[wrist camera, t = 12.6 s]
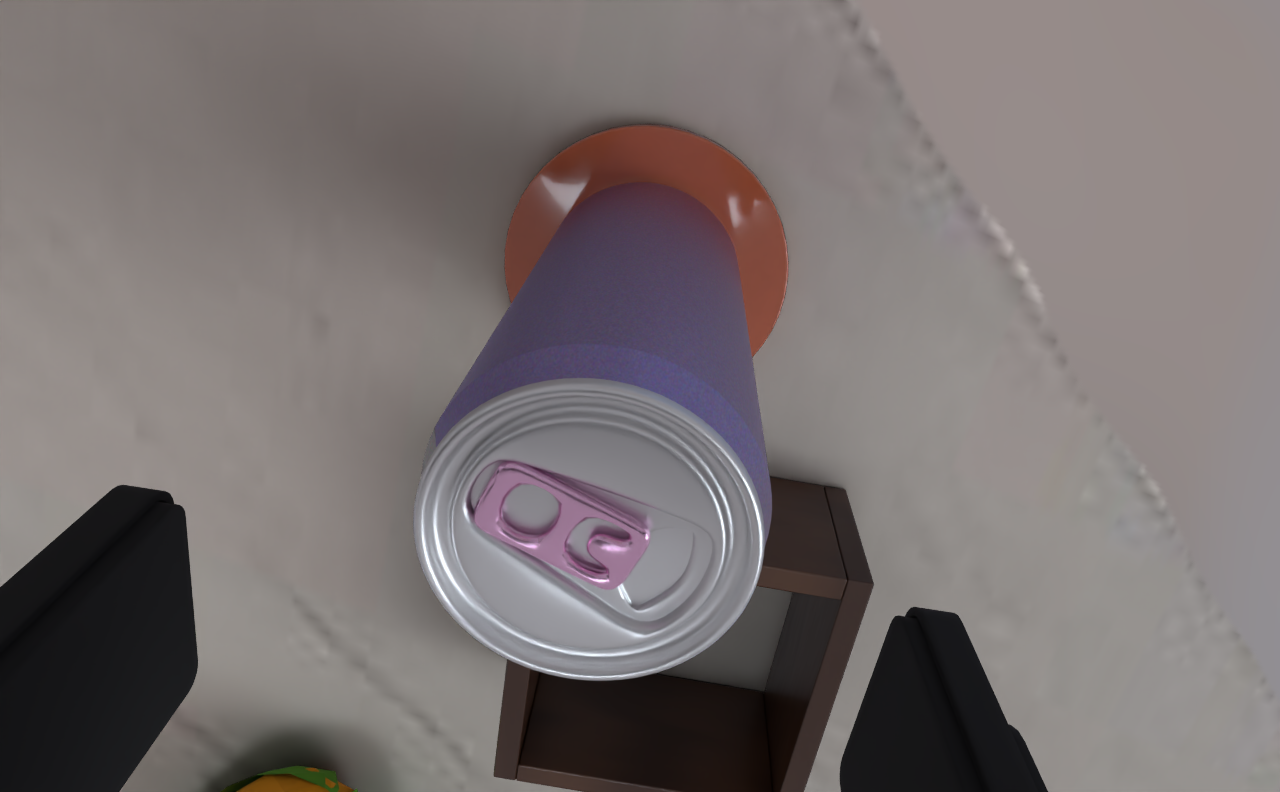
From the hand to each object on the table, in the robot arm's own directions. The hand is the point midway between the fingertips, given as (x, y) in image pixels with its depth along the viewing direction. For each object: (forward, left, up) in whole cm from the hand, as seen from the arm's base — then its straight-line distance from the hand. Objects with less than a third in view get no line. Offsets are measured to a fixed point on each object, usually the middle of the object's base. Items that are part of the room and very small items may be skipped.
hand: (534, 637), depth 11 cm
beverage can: (0, 0, -18) cm, 18 cm away
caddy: (+4, -12, -18) cm, 22 cm away
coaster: (0, 0, -18) cm, 18 cm away
